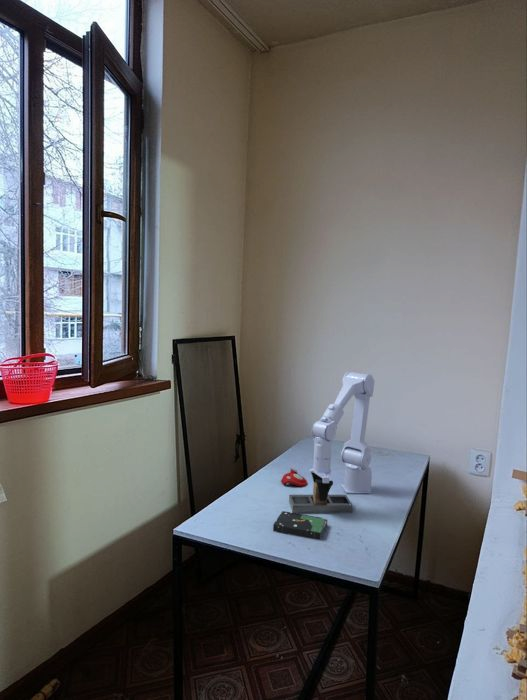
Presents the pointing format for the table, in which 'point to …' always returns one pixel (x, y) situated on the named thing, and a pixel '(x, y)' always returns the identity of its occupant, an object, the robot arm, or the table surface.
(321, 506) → the rail
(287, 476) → the tracker holder
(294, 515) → the disk drive
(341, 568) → the table surface
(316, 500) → the walnut peg
